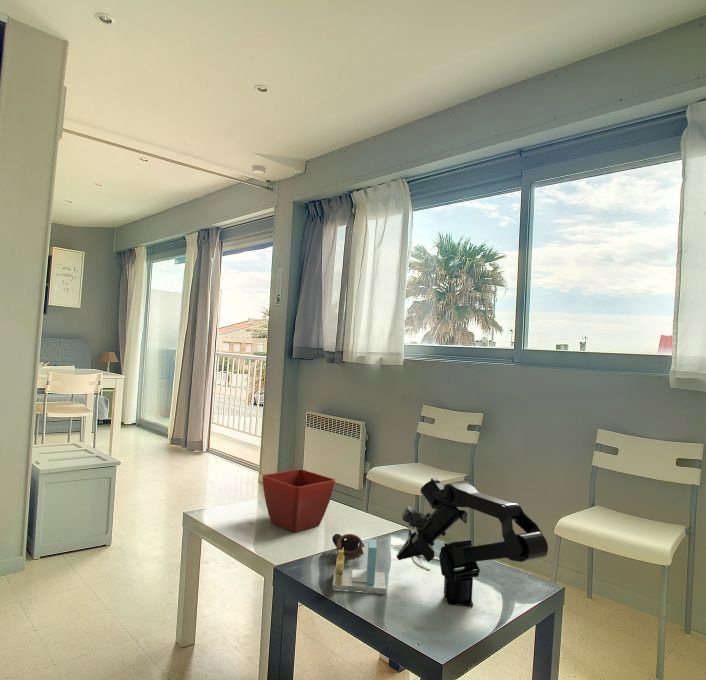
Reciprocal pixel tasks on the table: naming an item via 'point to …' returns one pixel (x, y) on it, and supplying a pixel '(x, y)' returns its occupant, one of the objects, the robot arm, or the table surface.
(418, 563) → the pliers
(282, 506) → the plant pot
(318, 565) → the table surface
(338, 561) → the block holder base
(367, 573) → the clip bar
